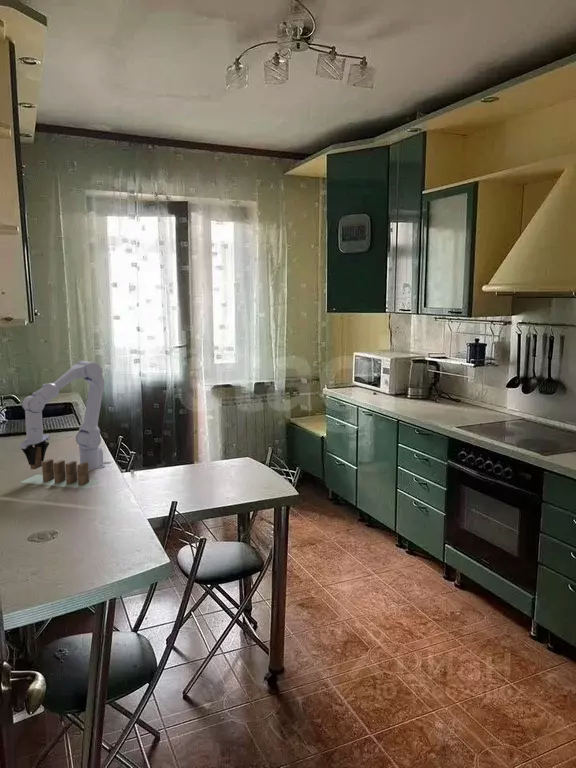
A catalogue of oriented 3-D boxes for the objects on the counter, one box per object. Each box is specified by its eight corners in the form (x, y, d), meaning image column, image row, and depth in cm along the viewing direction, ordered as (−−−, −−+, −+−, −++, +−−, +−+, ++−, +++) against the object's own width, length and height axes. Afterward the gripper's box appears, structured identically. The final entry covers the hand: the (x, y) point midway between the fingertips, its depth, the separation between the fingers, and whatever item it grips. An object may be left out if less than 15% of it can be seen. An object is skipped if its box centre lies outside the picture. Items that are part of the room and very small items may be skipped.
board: (37, 475, 227) (37, 474, 227) (100, 482, 220) (100, 480, 220) (19, 483, 217) (19, 482, 217) (85, 490, 210) (85, 488, 210)
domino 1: (38, 465, 223) (37, 446, 222) (42, 466, 222) (40, 446, 221) (30, 469, 218) (29, 449, 217) (34, 469, 218) (33, 449, 217)
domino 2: (50, 478, 222) (49, 459, 221) (54, 478, 222) (53, 459, 221) (43, 481, 218) (42, 462, 217) (46, 482, 217) (45, 462, 216)
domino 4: (73, 480, 220) (72, 461, 218) (77, 480, 219) (76, 461, 218) (66, 484, 215) (65, 464, 214) (70, 484, 215) (69, 464, 214)
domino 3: (62, 479, 221) (61, 460, 220) (65, 479, 220) (64, 460, 219) (54, 482, 217) (53, 463, 216) (58, 483, 216) (57, 463, 215)
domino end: (85, 481, 218) (84, 462, 217) (89, 482, 218) (88, 462, 217) (78, 485, 214) (77, 465, 213) (82, 485, 214) (81, 465, 213)
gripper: (38, 423, 226) (39, 457, 228) (11, 431, 212) (13, 467, 214) (53, 424, 224) (55, 458, 226) (28, 432, 210) (30, 468, 212)
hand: (36, 462), depth 220 cm, fingers closed on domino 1, 4 cm apart
